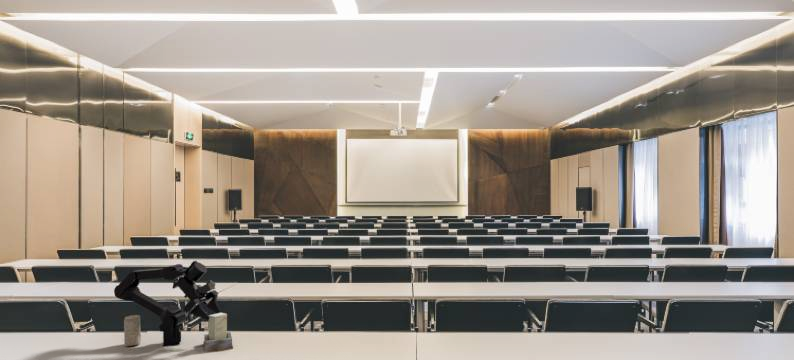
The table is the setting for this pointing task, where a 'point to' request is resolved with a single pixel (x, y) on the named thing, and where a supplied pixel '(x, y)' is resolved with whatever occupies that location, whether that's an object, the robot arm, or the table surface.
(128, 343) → the carving
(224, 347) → the socket
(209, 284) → the robot arm
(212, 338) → the skincare box
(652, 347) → the table surface
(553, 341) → the table surface
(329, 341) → the table surface
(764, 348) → the table surface
